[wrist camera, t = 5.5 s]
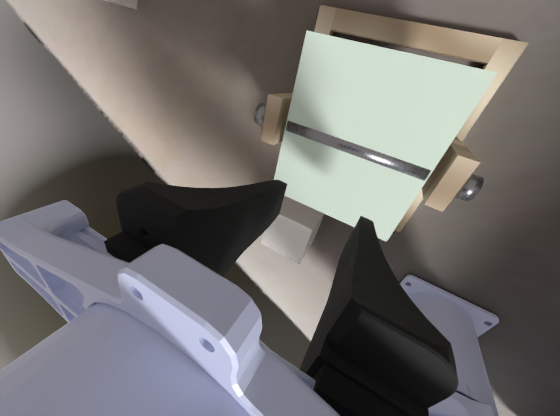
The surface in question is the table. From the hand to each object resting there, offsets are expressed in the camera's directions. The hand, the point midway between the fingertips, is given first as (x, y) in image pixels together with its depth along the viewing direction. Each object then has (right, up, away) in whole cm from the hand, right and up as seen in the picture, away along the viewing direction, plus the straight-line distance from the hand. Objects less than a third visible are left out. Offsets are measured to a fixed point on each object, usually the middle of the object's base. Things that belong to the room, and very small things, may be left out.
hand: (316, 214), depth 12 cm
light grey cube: (0, -1, +13) cm, 13 cm away
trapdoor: (+3, +5, +3) cm, 7 cm away
